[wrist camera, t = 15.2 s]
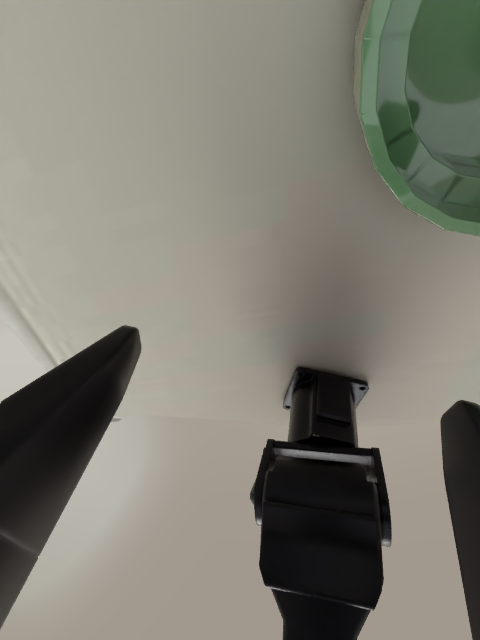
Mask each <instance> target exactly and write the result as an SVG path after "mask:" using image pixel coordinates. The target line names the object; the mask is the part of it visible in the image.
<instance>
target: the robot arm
mask: <svg viewBox="0 0 480 640" xmlns="http://www.w3.org/2000/svg"><path fill="white" fill-rule="evenodd" d="M140 353H141V341H140V335H139V330H138V329H137V328H135V327H131V326H126V325H124V326H121V327H119V328H118V329H116V330H115V331H113V332H111V333H110V334H108V335H107V336H105V337H103V338H102V339H100V340H99V341H97V342H95V343H94V344H92V345H91V346H89V347H87V348H86V349H84V350H83V351H81V352H79V353H78V354H76V355H75V356H73V357H71V358H70V359H68V360H67V361H65V362H63V363H62V364H60V365H59V366H57V367H55V368H54V369H52V370H51V371H49V372H47V373H46V374H44V375H43V376H41V377H39V378H38V379H36V380H35V381H33V382H31V383H30V384H28V385H27V386H25V387H24V388H22V389H20V390H19V391H17V392H16V393H14V394H12V395H11V396H9V397H8V398H6V399H4V400H3V401H2V402H1V404H0V629H1V627H2V625H3V623H4V621H5V619H6V618H7V616H8V614H9V612H10V610H11V608H12V606H13V604H14V603H15V601H16V599H17V597H18V595H19V593H20V591H21V589H22V587H23V586H24V584H25V582H26V580H27V578H28V576H29V574H30V572H31V571H32V569H33V567H34V565H35V563H36V561H37V559H38V556H39V555H40V553H41V551H42V550H43V548H44V546H45V544H46V542H47V540H48V538H49V536H50V534H51V533H52V531H53V529H54V527H55V525H56V523H57V521H58V520H59V518H60V516H61V514H62V512H63V510H64V508H65V506H66V505H67V503H68V501H69V499H70V497H71V495H72V493H73V491H74V489H75V488H76V486H77V484H78V482H79V480H80V478H81V476H82V475H83V473H84V471H85V469H86V467H87V465H88V463H89V461H90V459H91V458H92V456H93V454H94V452H95V450H96V448H97V446H98V444H99V442H100V441H101V439H102V437H103V435H104V433H105V431H106V429H107V428H108V426H109V424H110V422H111V420H112V418H113V416H114V414H115V413H116V411H117V409H118V407H119V405H120V403H121V401H122V399H123V396H124V394H125V392H126V389H127V387H128V384H129V381H130V379H131V376H132V374H133V371H134V369H135V366H136V364H137V361H138V359H139V356H140ZM368 389H369V387H368V383H367V382H364V381H360V380H355V379H351V378H346V377H342V376H337V375H333V374H329V373H324V372H320V371H315V370H311V369H306V368H301V367H299V368H297V369H296V370H295V372H294V375H293V378H292V381H291V383H290V386H289V389H288V391H287V394H286V397H285V399H284V402H283V408H284V409H286V410H291V412H290V423H289V434H288V442H285V441H275V440H274V439H268V441H267V445H266V448H264V450H263V455H262V459H261V463H260V466H259V471H258V475H257V478H256V480H255V483H254V485H253V488H252V490H251V493H250V499H251V501H252V503H253V504H254V509H255V518H256V523H257V525H258V526H261V545H260V561H259V567H260V571H261V574H262V577H263V581H264V584H265V586H266V587H268V588H271V589H272V592H273V595H274V597H275V600H276V602H277V605H278V608H279V610H280V613H281V616H282V618H283V640H357V637H358V635H359V633H360V631H361V629H362V627H363V625H364V623H365V621H366V619H367V617H368V615H369V613H370V611H371V610H374V609H375V607H376V604H377V602H378V599H379V597H380V594H381V591H382V586H383V580H384V577H383V562H382V547H381V546H387V547H390V546H391V516H390V508H389V499H388V493H387V488H386V483H385V478H384V472H383V467H382V462H381V456H380V451H379V448H371V449H368V448H358V438H357V424H356V412H355V408H356V407H357V406H358V404H359V403H360V401H361V400H362V398H363V397H364V395H365V394H366V392H367V391H368ZM441 440H442V456H443V470H444V479H445V486H446V492H447V497H448V502H449V509H450V514H451V520H452V526H453V531H454V537H455V542H456V548H457V554H458V559H459V565H460V571H461V576H462V582H463V588H464V593H465V599H466V604H467V610H468V616H469V622H470V627H471V633H472V638H473V640H480V406H479V405H478V404H476V403H473V402H468V401H464V400H460V401H457V402H456V403H455V404H454V405H453V406H452V407H451V408H450V409H448V410H447V411H446V412H445V413H444V414H443V416H442V418H441Z"/></svg>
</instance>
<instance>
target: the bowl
mask: <svg viewBox="0 0 480 640" xmlns="http://www.w3.org/2000/svg"><path fill="white" fill-rule="evenodd" d="M353 98H354V104H355V107H356V111H357V114H358V118H359V121H360V125H361V128H362V132H363V135H364V139H365V142H366V146H367V148H368V151H369V154H370V157H371V160H372V163H373V165H374V168H375V170H376V171H377V173H378V174H379V175H380V177H381V178H382V179H383V181H384V182H385V183H386V185H387V186H388V187H389V188H390V190H391V191H392V192H393V194H394V195H395V196H396V198H397V199H398V200H399V202H400V203H401V204H402V206H404V207H405V208H407V209H409V210H410V211H412V212H414V213H415V214H417V215H419V216H421V217H422V218H424V219H426V220H428V221H429V222H431V223H433V224H434V225H436V226H438V227H440V228H441V229H444V230H449V231H454V232H460V233H465V234H470V235H476V236H480V0H365V1H364V5H363V9H362V13H361V16H360V20H359V24H358V28H357V31H356V38H355V48H354V94H353Z"/></svg>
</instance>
